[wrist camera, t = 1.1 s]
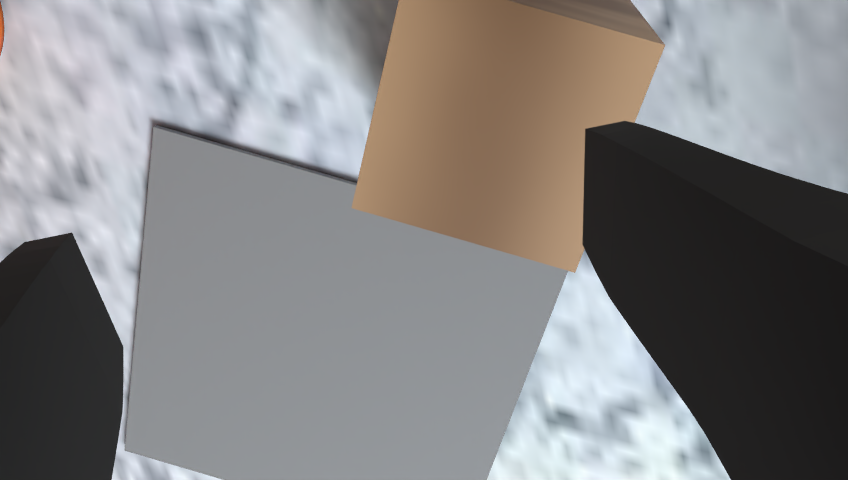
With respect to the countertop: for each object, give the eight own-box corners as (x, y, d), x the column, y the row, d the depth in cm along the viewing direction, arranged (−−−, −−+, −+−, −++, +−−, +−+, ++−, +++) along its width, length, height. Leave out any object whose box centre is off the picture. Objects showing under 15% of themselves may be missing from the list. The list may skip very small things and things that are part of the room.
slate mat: (575, 246, 22) (576, 249, 22) (459, 544, 28) (459, 548, 28) (156, 125, 22) (153, 127, 22) (127, 447, 28) (124, 450, 28)
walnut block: (629, -1, 19) (665, 45, 14) (565, 174, 22) (575, 272, 16) (441, -54, 19) (405, -29, 14) (397, 126, 22) (351, 207, 16)
